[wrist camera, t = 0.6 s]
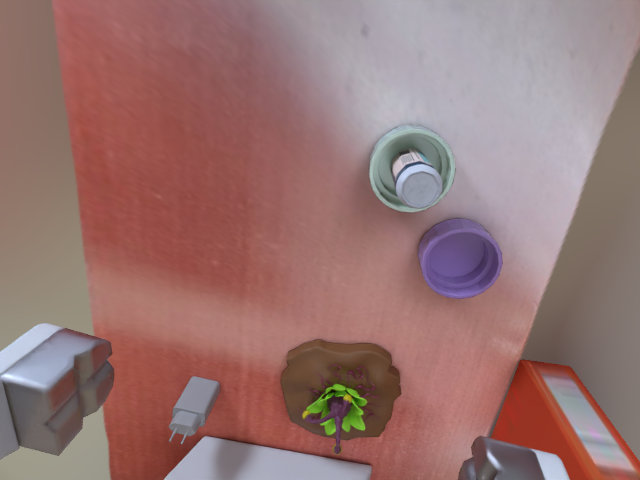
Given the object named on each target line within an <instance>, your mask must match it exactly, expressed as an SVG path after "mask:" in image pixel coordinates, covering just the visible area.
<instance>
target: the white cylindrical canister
mask: <svg viewBox="0 0 640 480" xmlns="http://www.w3.org/2000/svg"><path fill="white" fill-rule="evenodd" d="M390 170H391V175H392V178H393V182H394V185H395V189H396V193H397V196H398V198H399V199H400V201H401V202H402V203H403V204H404V205H406V206H408V207H410V208H414V209H422V208H426V207H428V206H430V205H432V204H433V203H434V202H435V201H437V199H438V198H439V196H440V194H441V192H442V186H443V184H442V179H441V177H440V175H439V173H438V172H437V171H436V170H435V168H434V167H433V166H432V164H431V163H430V162H429V161H428V159H427V158H426V157H425V155H424V154H423V153H422V152H421V151H419V150H418V149H414V148H406V149H402V150H400V151H399V152H398V153H396V154H395V156H394V157H393V159H392V161H391V165H390Z"/></svg>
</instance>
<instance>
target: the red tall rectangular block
mask: <svg viewBox="0 0 640 480" xmlns="http://www.w3.org/2000/svg"><path fill="white" fill-rule="evenodd" d="M491 439H496V440H500V441H504V442H508V443H512V444H516V445H520V446H524V447H527V448H531V449H535V450H539V451H543V452H547V453H551V454H555V455H557V456H558V457H559V458H560V459H561V460H562V462H563V465H564V467H565V469H566V472H567V474H568V476H569V479H570V480H640V462H639V460H638V459H637V457H636V456H635V455H634V453H633V452H632V451H631V449H630V448H629V446H628V445H627V444H626V442H625V441H624V440H623V439H622V437H621V436H620V434H619V433H618V431H617V430H616V429H615V427H614V426H613V424H612V423H611V422H610V420H609V419H608V418H607V417H606V415H605V413H604V412H603V411H602V409H601V408H600V407H599V405H598V404H597V402H596V401H595V400H594V398H593V397H592V396H591V394H590V393H589V391H588V390H587V389H586V387H585V386H584V385H583V383H582V382H581V380H580V379H579V378H578V376H577V375H576V374H575V372H574V371H573V370H572V368H571V367H569V366H564V365H558V364H551V363H544V362H537V361H529V360H520V362H519V365H518V367H517V370H516V372H515V375H514V378H513V381H512V383H511V386H510V388H509V391H508V394H507V396H506V399H505V402H504V404H503V407H502V410H501V412H500V415H499V417H498V420H497V423H496V425H495V428H494V431H493V434H492V436H491Z"/></svg>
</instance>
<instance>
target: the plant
mask: <svg viewBox="0 0 640 480" xmlns="http://www.w3.org/2000/svg"><path fill="white" fill-rule="evenodd" d="M287 363H288V367H287V368H286V369H285V370H284V371H283V373H282V377H281V386H282V389H283V394H284V399H285V403H286V408H287V412H288V415H289V417H290V420H291V421H292V422H293V423H296V424H297V425H299V426H301V427H303V428H305V429H307V430H308V431H310V432H312V433H314V434H317V435H320V436H324V437H329V438H335V439H336V444H335V445H334V446H333V452H334V454H340V453H341V452H342V447H341V445H340V439H341V440H350V439H353V438H357V437H379V436H380V434H381V433H382V432H383V431H384V429H385V427H386V424H387V422H388V421H389V419H390V418H391V415H392V410H393V403H394V401H395V399H396V398H397V397H398V396H400V395H401V388H400V385H399V383H400V375H399V371H398V370H397V369H396V368H394V367H393V366H391V364H392V358H391V355H390V354H389V353H388V352H387V351H386V350H384V349H383V348H381V347H380V346H377V345H375V344H371V343H358V344H338V343H329V342H325V341H322V340H315V341H313V342H308V343H304V344H302V345H300V346H299V347H298V348H296V349H294V350H291V351H289V353H288V357H287Z"/></svg>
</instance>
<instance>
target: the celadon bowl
mask: <svg viewBox="0 0 640 480" xmlns="http://www.w3.org/2000/svg"><path fill="white" fill-rule="evenodd" d="M406 148H414V149H418V150H419V151H421V152H422V153H423V154H424V155H425V157H426V158H427V159H428V161H429V162H430V163H431V164H432V166H433V167H434V168H435V170H436V171H437V172H438V173H439V175H440V177H441V179H442V184H443V186H442V192H441V194H440V196H439V198H438V199H437V201H435V202H434V203H433V204H432V205H430V206H428V207H426V208H422V209H414V208H410V207H408V206H406V205H404V204H403V203H402V202H401V201H400V199H399V198H398V196H397V193H396V189H395V185H394V182H393V178H392V175H391V170H390V165H391V161H392V159H393V157H394V156H395V154H396V153H398V152H399V151H400V150H402V149H406ZM455 170H456V169H455V160H454V156H453V154H452V152H451V149H450V147H449V145H448V144H447V143H446V142H445V141H444V140H443V139H442V138H441V137H440V136H438V135H437V134H436V133H435V132H433V131H431V130H429V129H427V128H425V127H422V126H414V125H407V126H402V127H398V128H395V129H393V130H392V131H390V132H388V133H386V134H385V135H384V136H383V137H382V138H381V139H380V140H379V141H378V142H377V143H376V145H375V147H374V149H373V151H372V153H371V156H370V163H369V176H370V182H371V187H372V189H373V190H374V192H375V194H376V196H377V197H378V199H380V200H381V201H382V202H383V203H384V204H385V205H386V206H388V207H390V208H392V209H395V210H397V211H402V212H417V211H422V210H425V209H427V208H429V207H431V206H433V205H435V204H437V203H438V202H439V201H440V200H441V199H442V198H443V197H444V196H445V195H446V194H447V192H448V191H449V189H450V187H451V185H452V184H453V180H454V175H455Z"/></svg>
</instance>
